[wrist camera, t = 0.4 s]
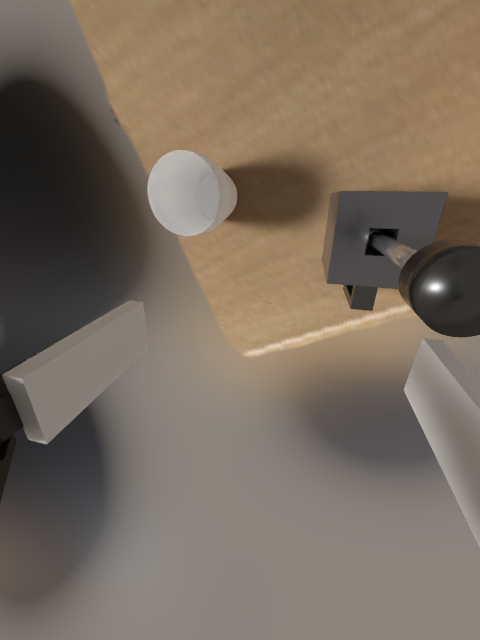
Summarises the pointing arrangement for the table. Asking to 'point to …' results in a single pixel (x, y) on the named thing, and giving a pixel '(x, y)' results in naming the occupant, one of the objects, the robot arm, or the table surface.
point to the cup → (190, 193)
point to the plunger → (436, 281)
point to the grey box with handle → (353, 229)
